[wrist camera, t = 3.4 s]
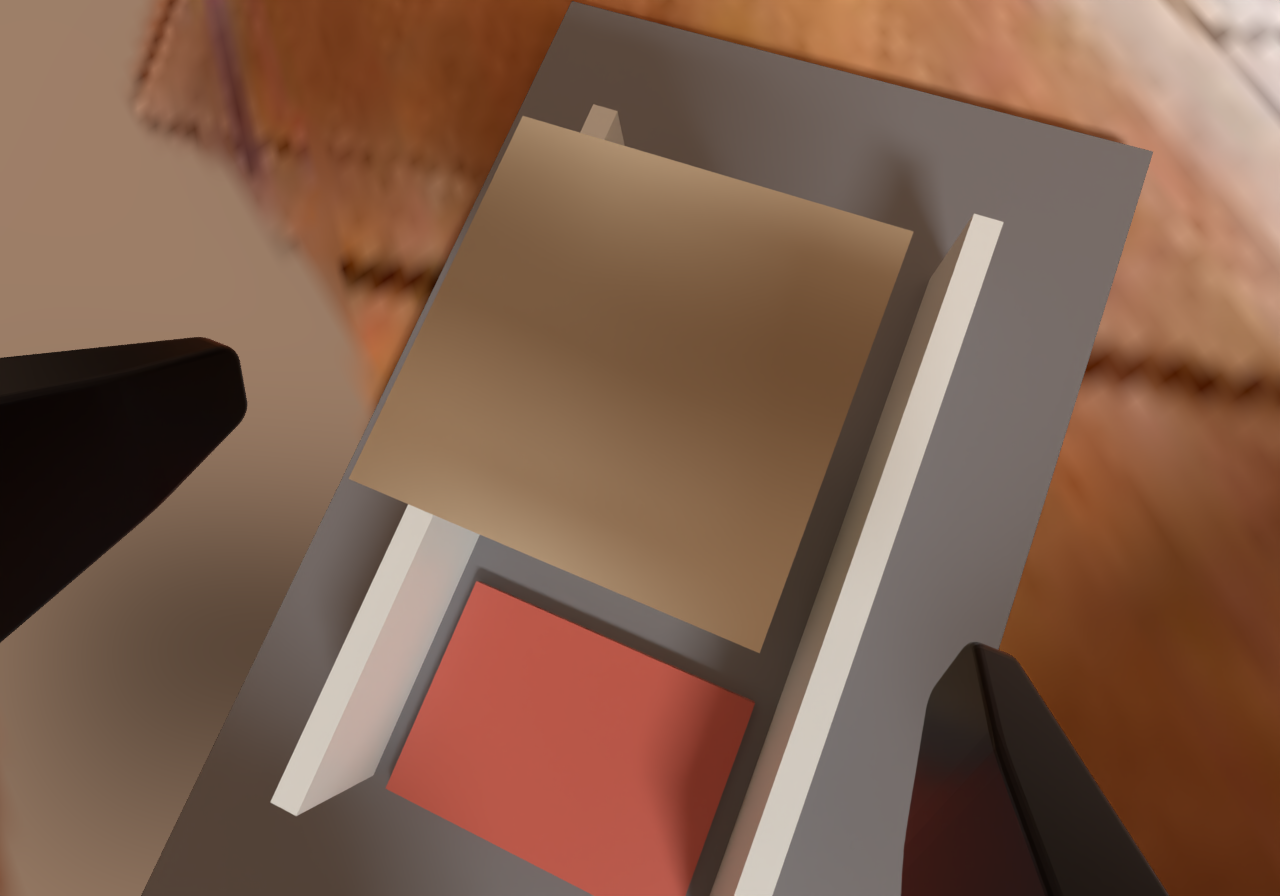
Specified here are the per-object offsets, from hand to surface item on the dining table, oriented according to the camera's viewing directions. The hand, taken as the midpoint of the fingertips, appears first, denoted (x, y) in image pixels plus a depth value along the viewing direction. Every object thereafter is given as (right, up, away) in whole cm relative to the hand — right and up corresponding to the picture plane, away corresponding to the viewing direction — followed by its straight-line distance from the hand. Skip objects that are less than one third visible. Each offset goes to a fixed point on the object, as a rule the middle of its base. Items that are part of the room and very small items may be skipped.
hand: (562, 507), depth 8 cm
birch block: (+2, 0, +9) cm, 9 cm away
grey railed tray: (+1, -1, +9) cm, 10 cm away
